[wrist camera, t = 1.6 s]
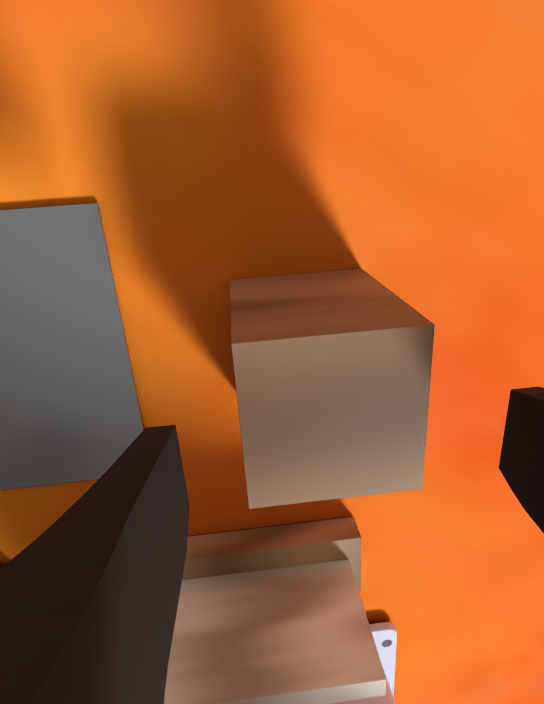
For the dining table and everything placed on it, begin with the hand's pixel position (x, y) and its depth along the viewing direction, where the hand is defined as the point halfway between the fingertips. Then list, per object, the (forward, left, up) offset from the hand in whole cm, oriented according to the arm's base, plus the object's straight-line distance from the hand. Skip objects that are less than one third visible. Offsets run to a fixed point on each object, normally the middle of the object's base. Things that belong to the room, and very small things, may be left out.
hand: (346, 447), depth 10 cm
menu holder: (-10, +3, -7) cm, 13 cm away
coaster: (0, +11, -7) cm, 13 cm away
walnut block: (0, 0, -7) cm, 7 cm away
